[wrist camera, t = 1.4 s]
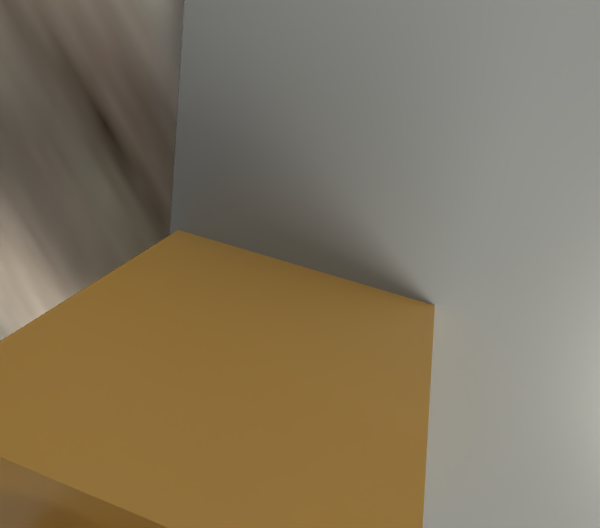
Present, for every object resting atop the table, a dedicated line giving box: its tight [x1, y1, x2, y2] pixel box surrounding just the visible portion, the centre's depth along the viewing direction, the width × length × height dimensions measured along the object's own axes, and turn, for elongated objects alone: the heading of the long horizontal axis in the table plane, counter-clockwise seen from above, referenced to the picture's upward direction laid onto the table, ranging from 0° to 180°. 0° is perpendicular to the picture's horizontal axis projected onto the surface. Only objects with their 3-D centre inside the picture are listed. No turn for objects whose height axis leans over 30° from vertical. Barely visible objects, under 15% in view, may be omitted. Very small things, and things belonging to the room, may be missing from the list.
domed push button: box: [0, 230, 435, 528], centre depth 8 cm, size 6×6×7 cm
